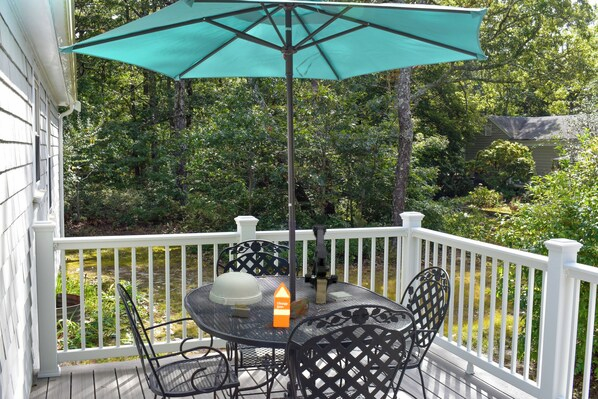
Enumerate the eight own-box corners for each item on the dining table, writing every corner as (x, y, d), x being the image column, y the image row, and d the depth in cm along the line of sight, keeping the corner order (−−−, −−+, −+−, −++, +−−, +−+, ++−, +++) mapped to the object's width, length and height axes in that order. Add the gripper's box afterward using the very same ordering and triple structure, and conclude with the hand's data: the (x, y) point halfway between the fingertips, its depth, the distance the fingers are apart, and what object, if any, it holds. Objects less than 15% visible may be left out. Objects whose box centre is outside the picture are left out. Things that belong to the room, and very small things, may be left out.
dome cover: (249, 308, 300) (250, 282, 299) (198, 302, 309) (199, 277, 307) (270, 294, 330) (271, 270, 329) (223, 288, 339) (224, 265, 338)
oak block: (316, 301, 318) (317, 278, 317) (324, 301, 318) (326, 279, 317) (316, 303, 313) (317, 280, 312) (325, 304, 313) (326, 281, 312)
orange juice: (289, 321, 281) (290, 282, 279) (289, 327, 272) (290, 286, 270) (273, 320, 280) (274, 281, 278) (273, 326, 272) (274, 286, 270)
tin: (291, 320, 283) (292, 303, 282) (286, 318, 285) (287, 302, 284) (309, 313, 295) (310, 297, 294) (304, 312, 297) (305, 296, 296)
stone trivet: (328, 298, 328) (328, 293, 328) (342, 296, 333) (343, 291, 332) (337, 302, 319) (337, 297, 319) (352, 300, 324) (352, 295, 324)
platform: (228, 311, 294) (228, 299, 293) (261, 315, 290) (261, 302, 289) (220, 318, 282) (220, 305, 282) (254, 322, 278) (254, 309, 278)
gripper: (305, 259, 317) (305, 283, 307) (338, 260, 317) (339, 284, 308) (304, 270, 326) (304, 294, 316) (336, 271, 326) (337, 295, 316)
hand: (321, 291), depth 314 cm, fingers closed on oak block, 5 cm apart
